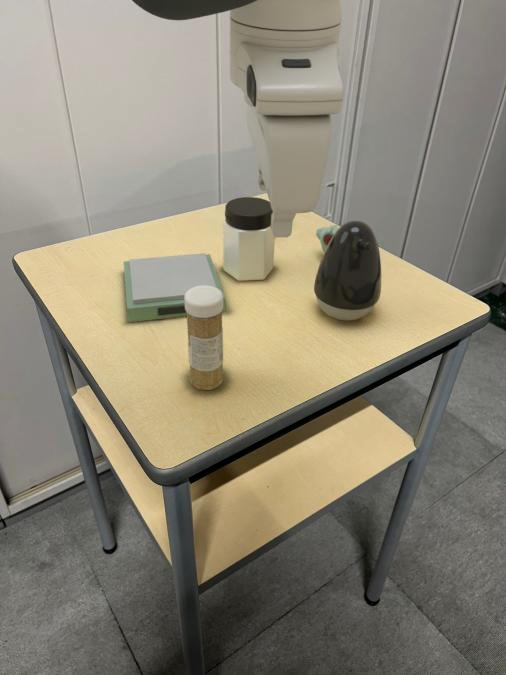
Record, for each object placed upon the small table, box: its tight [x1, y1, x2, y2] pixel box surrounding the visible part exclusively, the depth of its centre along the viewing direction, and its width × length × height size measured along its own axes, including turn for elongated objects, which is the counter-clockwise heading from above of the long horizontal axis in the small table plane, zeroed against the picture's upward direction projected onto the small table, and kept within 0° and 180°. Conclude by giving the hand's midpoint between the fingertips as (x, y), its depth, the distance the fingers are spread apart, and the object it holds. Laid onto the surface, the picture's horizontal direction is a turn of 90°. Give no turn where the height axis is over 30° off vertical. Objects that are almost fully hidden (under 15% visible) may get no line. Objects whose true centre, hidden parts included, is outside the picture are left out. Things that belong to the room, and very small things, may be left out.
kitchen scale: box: [123, 252, 227, 323], centre depth 85 cm, size 15×15×3 cm
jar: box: [222, 196, 276, 282], centre depth 89 cm, size 9×8×12 cm
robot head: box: [315, 224, 340, 253], centre depth 94 cm, size 8×4×7 cm, turn 55°
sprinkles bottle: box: [184, 285, 225, 391], centre depth 64 cm, size 5×5×13 cm
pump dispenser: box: [313, 220, 382, 321], centre depth 78 cm, size 10×10×15 cm
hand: (273, 208), depth 52 cm, fingers open, 8 cm apart
